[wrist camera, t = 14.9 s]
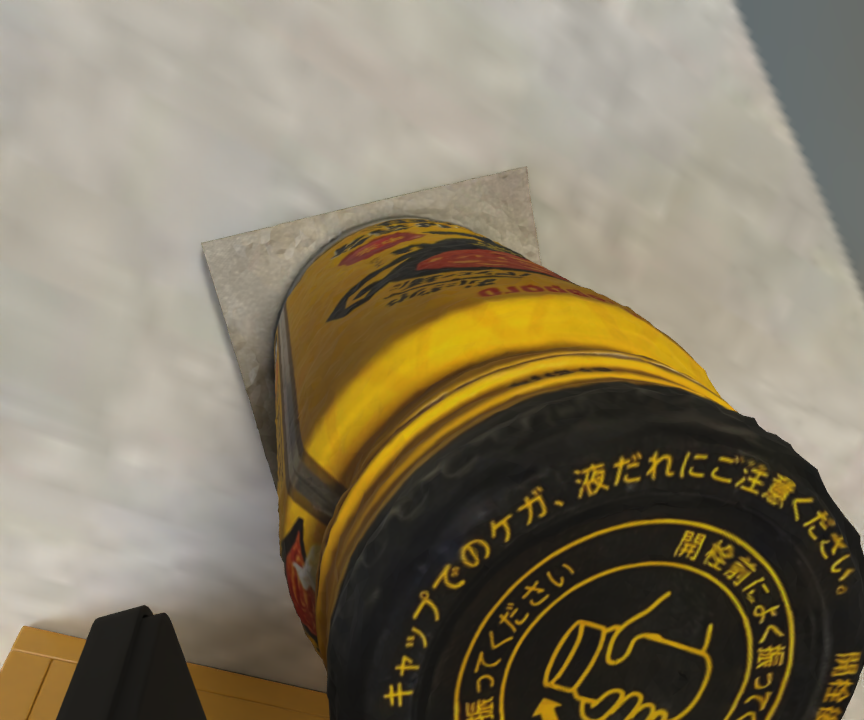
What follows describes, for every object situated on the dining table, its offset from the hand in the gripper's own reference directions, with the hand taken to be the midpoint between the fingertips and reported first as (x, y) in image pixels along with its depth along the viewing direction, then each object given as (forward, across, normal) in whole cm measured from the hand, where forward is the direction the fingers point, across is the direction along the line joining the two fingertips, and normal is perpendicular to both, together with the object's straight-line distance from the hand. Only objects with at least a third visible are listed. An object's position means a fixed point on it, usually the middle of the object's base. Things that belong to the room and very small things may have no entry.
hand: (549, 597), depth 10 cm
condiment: (+9, 0, 0) cm, 9 cm away
